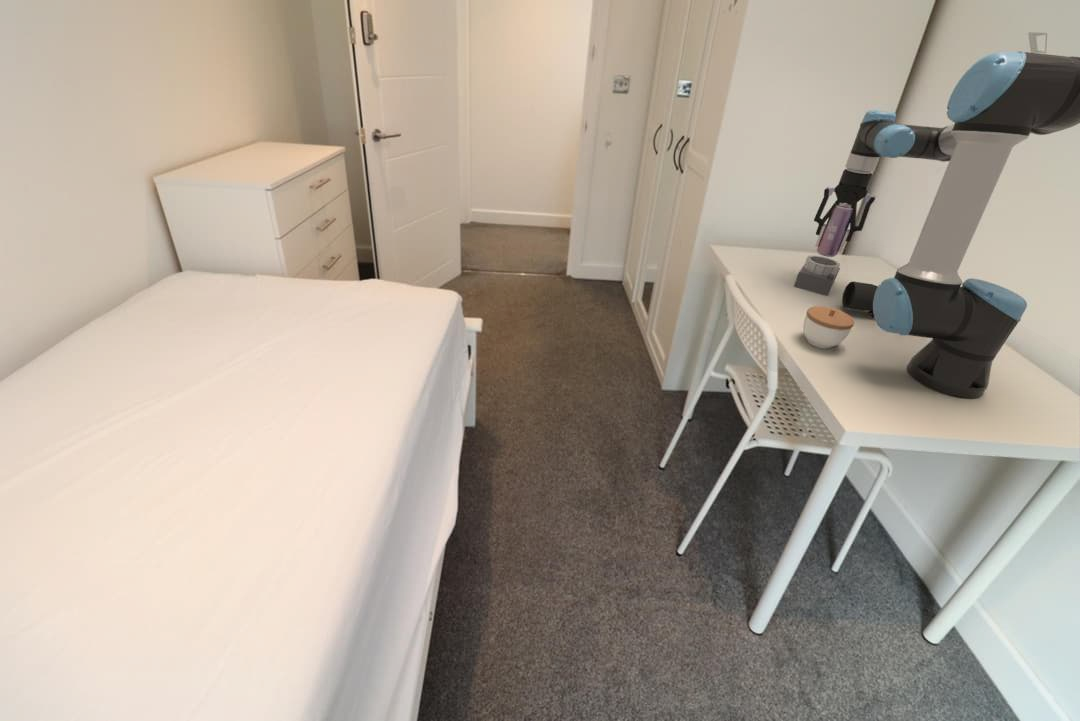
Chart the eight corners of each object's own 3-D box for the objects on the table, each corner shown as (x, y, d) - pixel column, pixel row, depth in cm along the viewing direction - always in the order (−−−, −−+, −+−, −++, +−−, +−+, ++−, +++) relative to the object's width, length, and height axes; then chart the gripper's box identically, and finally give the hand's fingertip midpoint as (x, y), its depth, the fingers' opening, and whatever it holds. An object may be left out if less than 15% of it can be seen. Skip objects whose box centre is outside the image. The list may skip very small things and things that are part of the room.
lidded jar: (848, 356, 124) (864, 322, 119) (802, 349, 126) (816, 316, 121) (835, 335, 133) (849, 303, 128) (792, 329, 135) (805, 297, 130)
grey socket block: (827, 295, 156) (837, 271, 152) (793, 286, 161) (802, 262, 156) (834, 282, 166) (843, 259, 162) (802, 274, 171) (810, 251, 166)
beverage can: (840, 255, 157) (860, 207, 149) (830, 258, 154) (849, 209, 146) (822, 249, 162) (840, 202, 153) (812, 252, 158) (830, 203, 150)
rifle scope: (947, 333, 140) (966, 300, 134) (847, 318, 143) (861, 286, 138) (930, 316, 148) (947, 285, 143) (836, 303, 152) (849, 272, 147)
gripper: (897, 174, 143) (863, 253, 155) (825, 163, 152) (798, 238, 164) (895, 178, 138) (860, 259, 150) (821, 166, 146) (794, 243, 158)
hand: (828, 248), depth 157 cm, fingers closed on beverage can, 6 cm apart
